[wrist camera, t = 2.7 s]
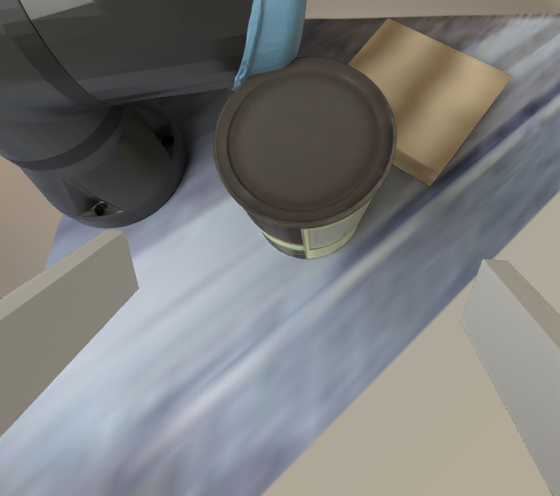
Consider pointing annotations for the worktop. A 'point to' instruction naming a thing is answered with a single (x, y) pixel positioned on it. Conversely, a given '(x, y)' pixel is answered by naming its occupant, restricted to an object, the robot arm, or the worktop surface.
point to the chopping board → (428, 94)
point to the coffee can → (306, 152)
